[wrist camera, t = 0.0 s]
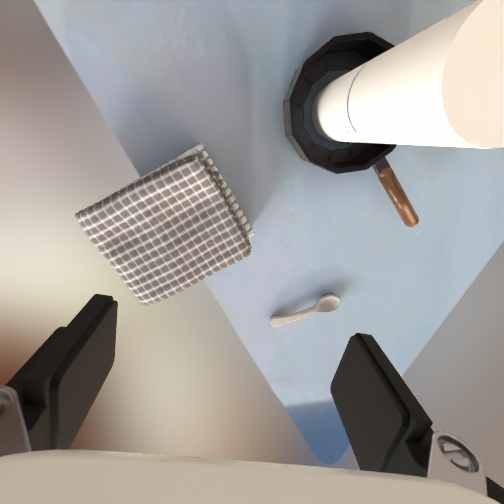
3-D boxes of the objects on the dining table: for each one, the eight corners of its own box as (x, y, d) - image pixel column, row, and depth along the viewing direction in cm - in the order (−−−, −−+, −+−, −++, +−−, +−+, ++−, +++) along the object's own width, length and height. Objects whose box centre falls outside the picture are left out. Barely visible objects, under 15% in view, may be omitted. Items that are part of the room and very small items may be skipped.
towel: (89, 204, 39) (57, 219, 32) (206, 139, 37) (200, 140, 30) (153, 289, 45) (138, 318, 38) (258, 237, 43) (263, 257, 36)
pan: (359, 16, 33) (377, -1, 29) (443, 188, 42) (466, 194, 38) (261, 99, 36) (265, 94, 32) (359, 246, 44) (372, 257, 40)
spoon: (341, 303, 48) (344, 310, 46) (273, 324, 50) (274, 332, 48) (336, 288, 47) (339, 295, 45) (267, 311, 49) (268, 318, 47)
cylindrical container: (352, 67, 35) (579, -66, 12) (374, 121, 38) (598, 97, 15) (301, 101, 36) (421, 39, 13) (326, 151, 39) (463, 174, 16)
